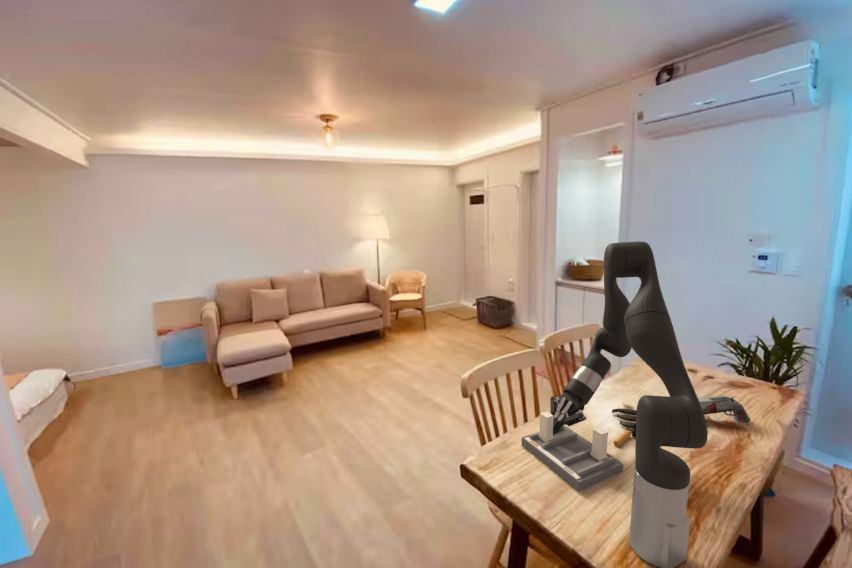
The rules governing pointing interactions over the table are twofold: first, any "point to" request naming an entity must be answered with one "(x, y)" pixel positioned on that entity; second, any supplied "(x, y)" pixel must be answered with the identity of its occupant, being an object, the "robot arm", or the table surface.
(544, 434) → the far tab
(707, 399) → the toy gun
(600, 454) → the near tab
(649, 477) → the robot arm
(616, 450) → the table surface
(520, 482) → the table surface
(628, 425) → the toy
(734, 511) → the table surface
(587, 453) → the switch box
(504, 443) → the table surface
